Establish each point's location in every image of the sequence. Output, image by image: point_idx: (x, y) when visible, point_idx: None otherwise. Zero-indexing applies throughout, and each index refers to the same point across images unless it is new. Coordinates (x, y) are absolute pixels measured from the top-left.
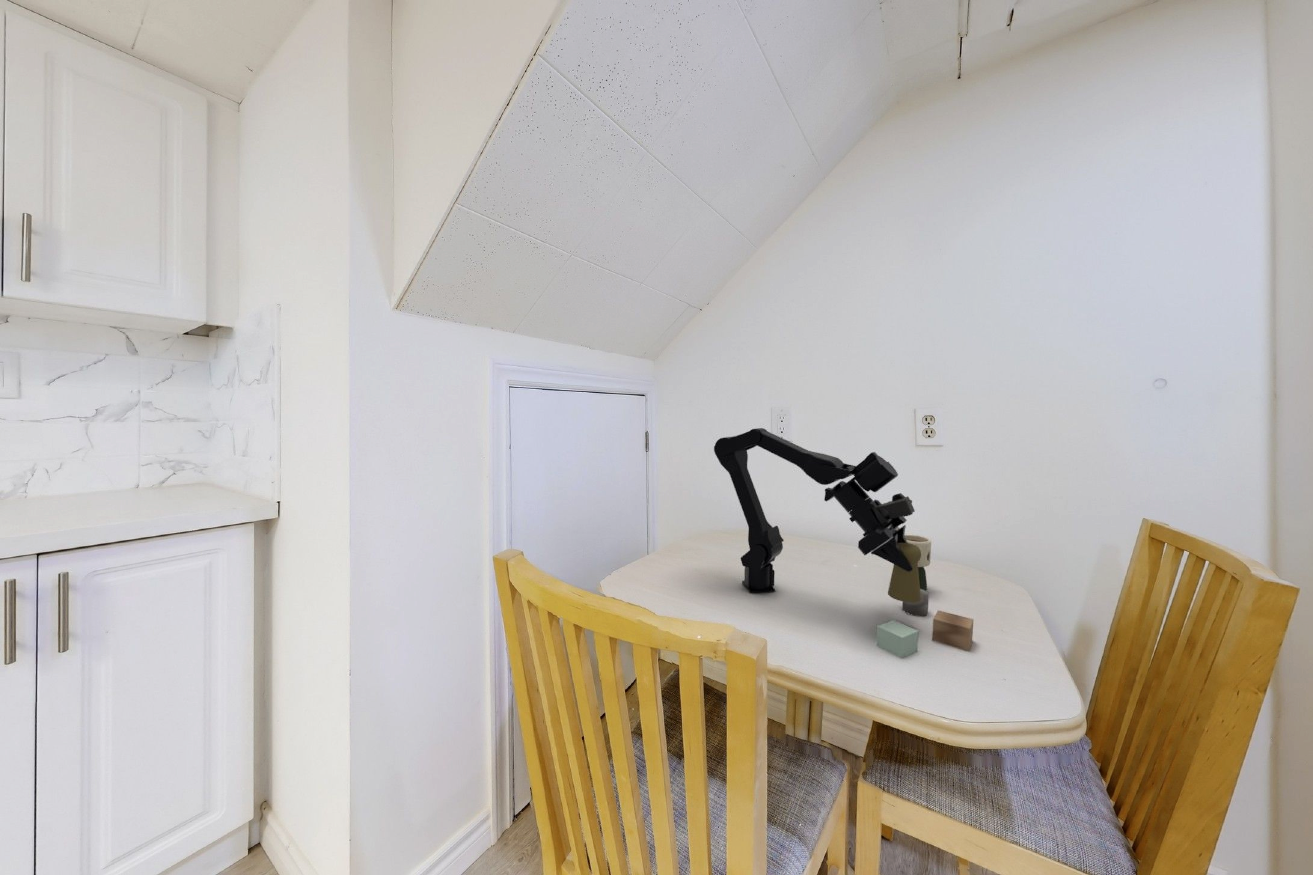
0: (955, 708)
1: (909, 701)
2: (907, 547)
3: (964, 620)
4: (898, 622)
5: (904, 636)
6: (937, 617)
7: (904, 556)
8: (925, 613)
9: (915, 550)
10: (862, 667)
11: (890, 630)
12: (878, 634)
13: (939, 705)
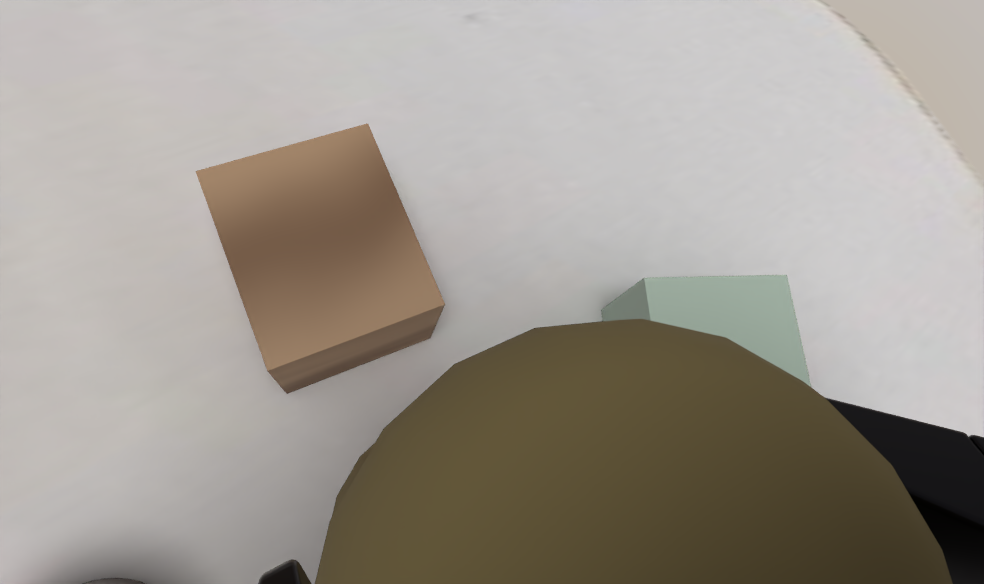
0: (798, 39)
1: (907, 128)
2: (868, 492)
3: (275, 191)
4: None
5: (765, 278)
6: (398, 301)
7: (882, 436)
8: (108, 580)
9: (709, 345)
10: (930, 338)
11: (785, 358)
12: None
13: (833, 71)
